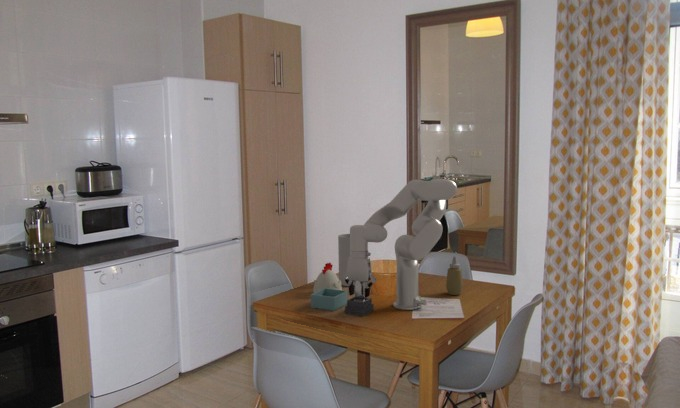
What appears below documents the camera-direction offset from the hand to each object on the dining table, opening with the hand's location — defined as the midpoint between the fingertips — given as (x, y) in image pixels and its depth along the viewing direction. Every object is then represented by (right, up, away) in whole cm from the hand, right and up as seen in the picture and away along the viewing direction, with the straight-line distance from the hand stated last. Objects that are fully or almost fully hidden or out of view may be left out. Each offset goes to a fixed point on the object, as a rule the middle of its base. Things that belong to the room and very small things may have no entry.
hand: (359, 295), depth 239 cm
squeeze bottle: (+46, -4, +28) cm, 54 cm away
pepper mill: (0, -4, 0) cm, 4 cm away
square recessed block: (0, -7, +1) cm, 7 cm away
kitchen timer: (-14, -4, +30) cm, 34 cm away
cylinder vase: (-3, -2, +49) cm, 49 cm away
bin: (-13, -6, +10) cm, 18 cm away
